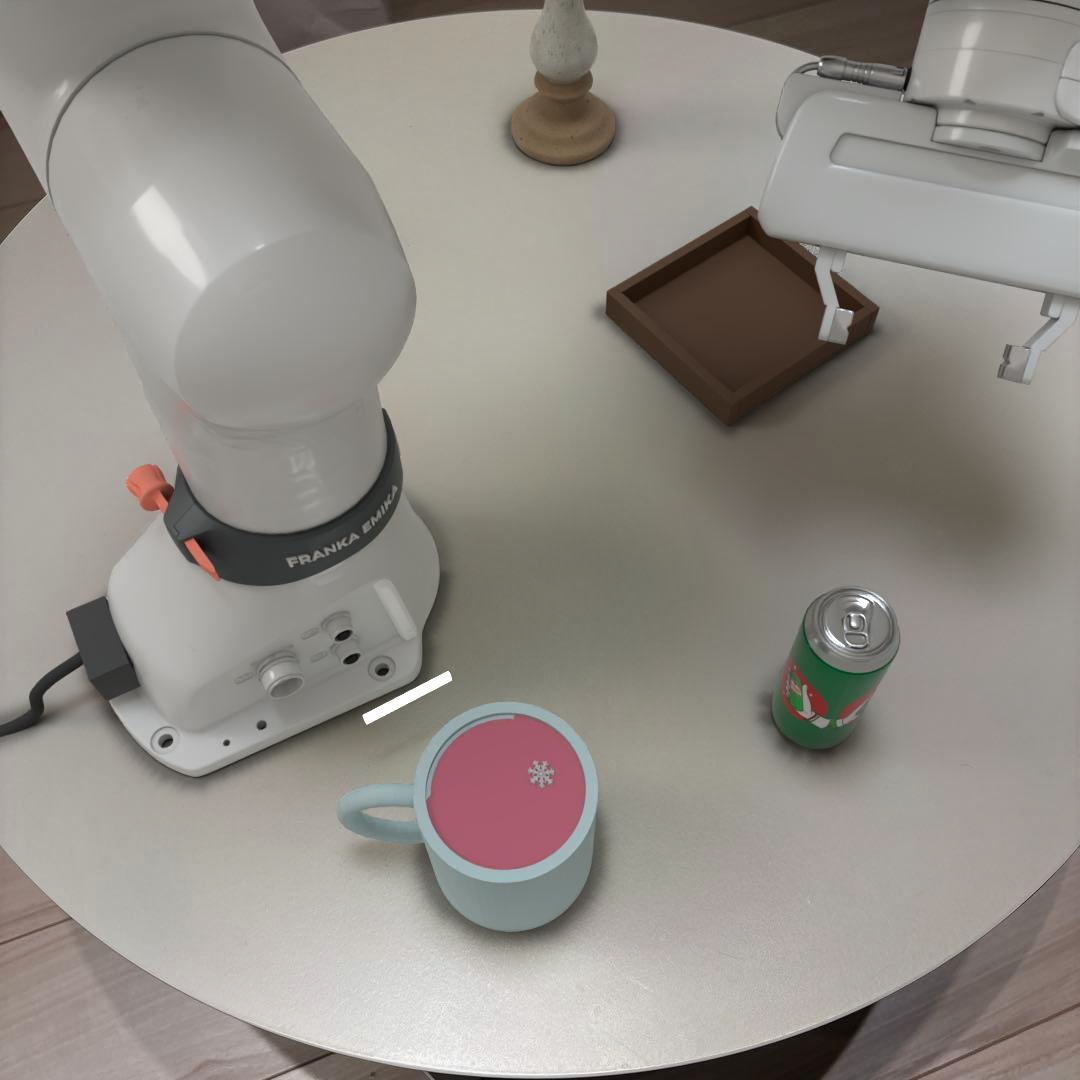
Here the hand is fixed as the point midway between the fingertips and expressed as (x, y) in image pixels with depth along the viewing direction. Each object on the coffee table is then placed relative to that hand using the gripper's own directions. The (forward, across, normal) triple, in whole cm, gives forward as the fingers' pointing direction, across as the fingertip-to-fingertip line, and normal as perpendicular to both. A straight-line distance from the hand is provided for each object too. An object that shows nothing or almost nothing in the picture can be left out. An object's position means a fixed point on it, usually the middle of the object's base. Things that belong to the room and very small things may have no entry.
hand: (920, 361), depth 60 cm
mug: (+32, -17, -6) cm, 36 cm away
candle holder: (-11, -30, +37) cm, 49 cm away
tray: (+1, -11, +25) cm, 27 cm away
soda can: (+22, 0, +4) cm, 22 cm away
